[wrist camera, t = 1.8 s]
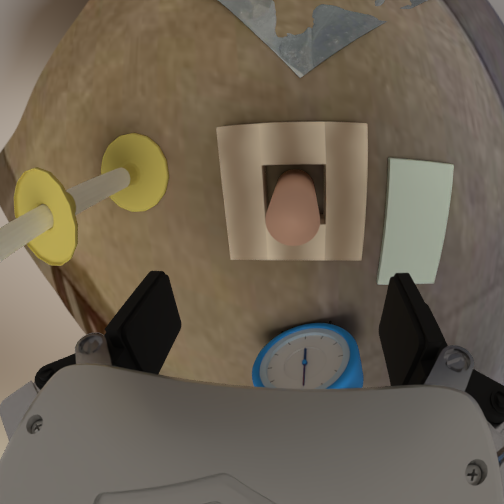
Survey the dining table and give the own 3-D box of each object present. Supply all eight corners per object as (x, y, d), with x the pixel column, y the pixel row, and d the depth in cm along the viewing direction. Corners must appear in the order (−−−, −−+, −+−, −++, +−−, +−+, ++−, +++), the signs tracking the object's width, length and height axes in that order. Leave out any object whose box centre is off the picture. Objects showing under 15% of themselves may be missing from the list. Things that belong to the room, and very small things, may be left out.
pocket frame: (360, 122, 25) (367, 123, 22) (356, 247, 31) (361, 260, 28) (224, 126, 27) (216, 127, 25) (236, 247, 34) (230, 259, 31)
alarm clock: (351, 310, 35) (366, 407, 22) (358, 342, 37) (369, 432, 24) (259, 330, 39) (238, 422, 26) (273, 359, 41) (258, 445, 28)
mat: (450, 163, 24) (453, 165, 24) (431, 280, 31) (433, 283, 30) (388, 157, 26) (390, 158, 25) (376, 281, 33) (377, 284, 32)
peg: (313, 168, 28) (320, 194, 19) (314, 205, 30) (319, 246, 21) (275, 169, 29) (263, 194, 20) (277, 205, 31) (267, 245, 22)
